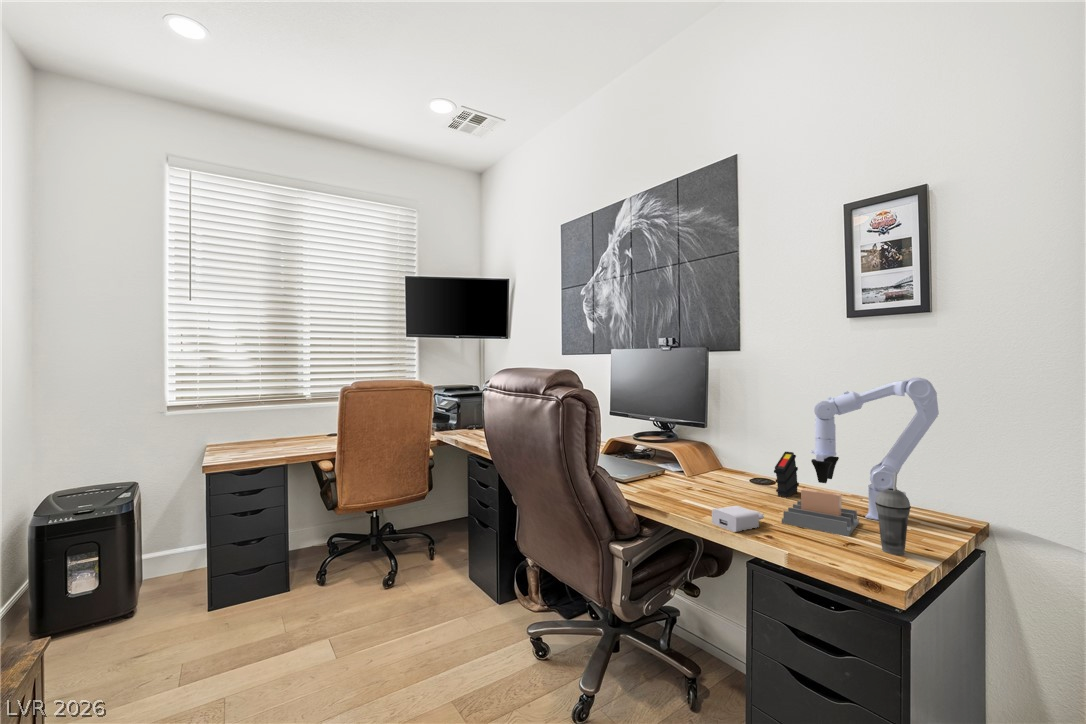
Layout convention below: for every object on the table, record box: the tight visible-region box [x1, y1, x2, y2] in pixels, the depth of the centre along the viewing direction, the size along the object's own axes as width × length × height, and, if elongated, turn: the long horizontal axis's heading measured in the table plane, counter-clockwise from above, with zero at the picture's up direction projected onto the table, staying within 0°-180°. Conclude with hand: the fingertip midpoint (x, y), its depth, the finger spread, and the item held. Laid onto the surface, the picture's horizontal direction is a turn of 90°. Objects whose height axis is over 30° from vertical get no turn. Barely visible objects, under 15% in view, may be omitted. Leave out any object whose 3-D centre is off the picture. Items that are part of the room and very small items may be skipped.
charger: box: [711, 505, 765, 533], centre depth 144 cm, size 5×9×15 cm
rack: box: [781, 500, 860, 537], centre depth 145 cm, size 17×15×4 cm
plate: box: [800, 488, 842, 516], centre depth 145 cm, size 10×3×8 cm, turn 48°
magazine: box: [773, 451, 800, 498], centre depth 178 cm, size 4×13×15 cm, turn 133°
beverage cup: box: [875, 472, 911, 556], centre depth 123 cm, size 7×7×20 cm
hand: (825, 480), depth 159 cm, fingers open, 7 cm apart
